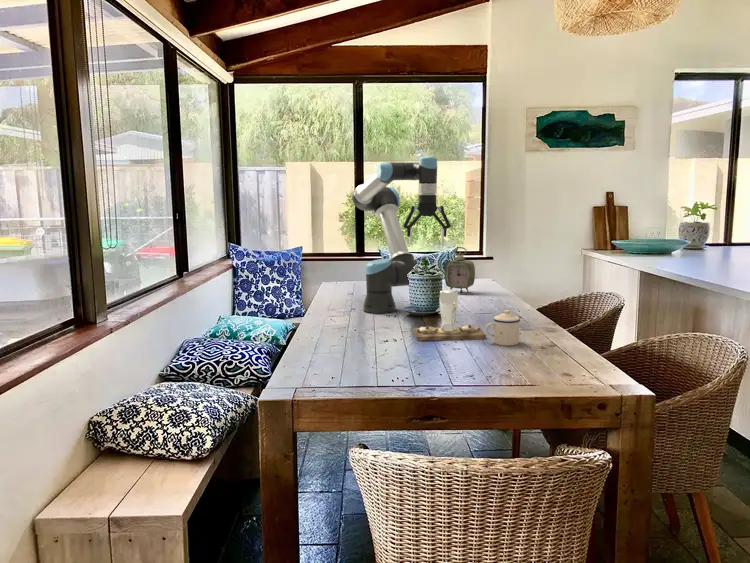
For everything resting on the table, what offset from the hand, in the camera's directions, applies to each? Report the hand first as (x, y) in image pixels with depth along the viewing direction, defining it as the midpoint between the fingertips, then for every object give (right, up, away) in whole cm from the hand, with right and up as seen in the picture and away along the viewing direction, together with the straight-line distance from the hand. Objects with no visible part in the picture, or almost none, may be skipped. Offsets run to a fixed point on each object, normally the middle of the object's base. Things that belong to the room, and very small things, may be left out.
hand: (426, 244), depth 240 cm
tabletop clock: (+24, -23, +60) cm, 68 cm away
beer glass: (+6, -34, -30) cm, 46 cm away
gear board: (+6, -36, -29) cm, 47 cm away
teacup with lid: (+23, -38, -42) cm, 61 cm away
